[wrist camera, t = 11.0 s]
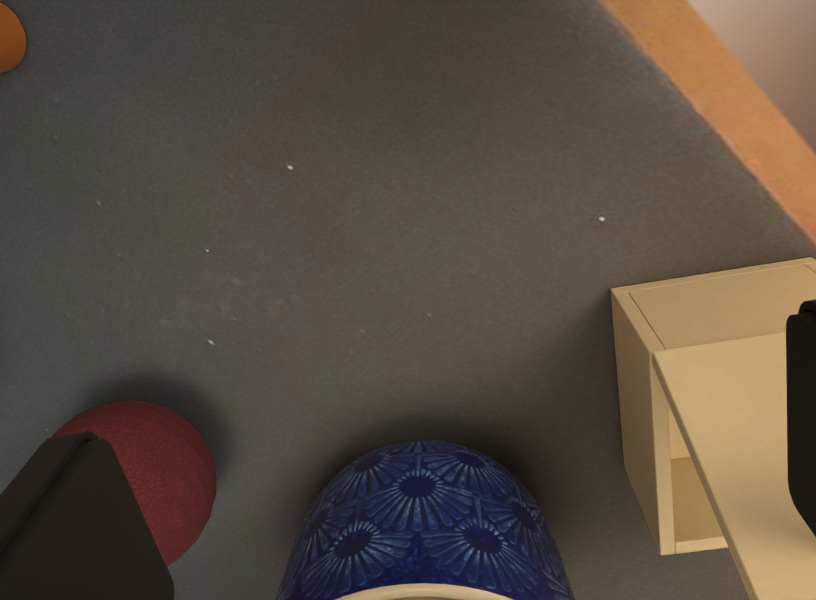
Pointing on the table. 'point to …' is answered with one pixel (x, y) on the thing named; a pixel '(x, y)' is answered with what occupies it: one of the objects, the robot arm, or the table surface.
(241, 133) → the table surface
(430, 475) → the planter
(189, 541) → the decorative ball
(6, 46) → the orange cylinder
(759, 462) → the lid
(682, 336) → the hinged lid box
